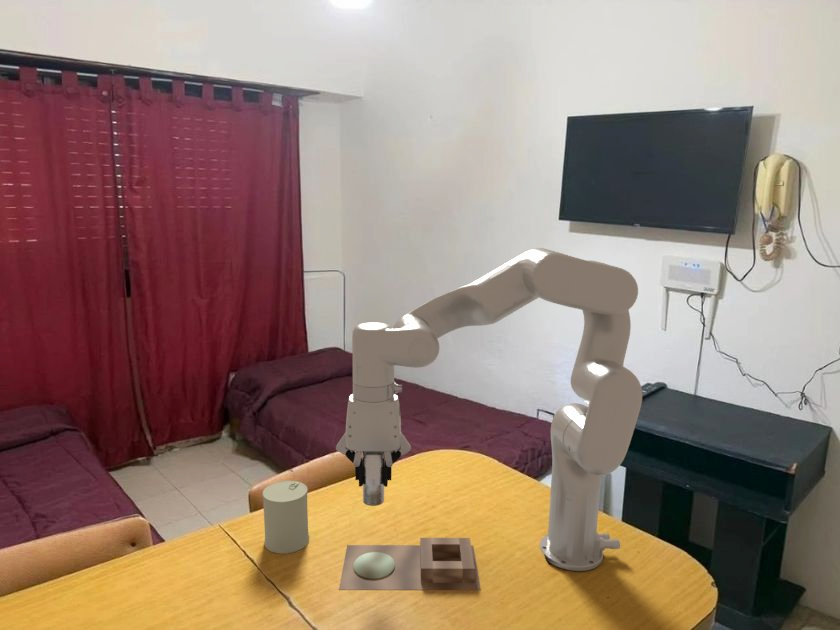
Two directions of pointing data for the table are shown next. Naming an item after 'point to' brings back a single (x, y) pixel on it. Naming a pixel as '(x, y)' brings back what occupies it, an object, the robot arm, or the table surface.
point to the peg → (373, 478)
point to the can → (285, 516)
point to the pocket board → (411, 566)
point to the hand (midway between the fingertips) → (373, 482)
